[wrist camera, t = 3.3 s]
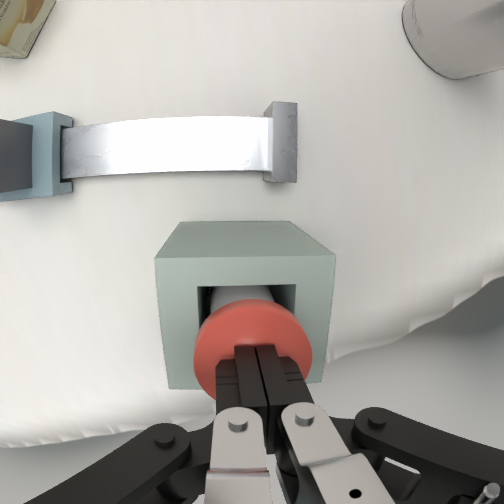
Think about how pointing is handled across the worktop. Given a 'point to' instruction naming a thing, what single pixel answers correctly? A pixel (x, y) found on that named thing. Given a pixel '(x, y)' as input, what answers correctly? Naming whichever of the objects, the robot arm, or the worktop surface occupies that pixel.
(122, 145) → the rail
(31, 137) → the carriage
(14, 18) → the skincare box
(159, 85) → the worktop surface
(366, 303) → the worktop surface
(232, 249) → the button housing
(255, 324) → the red button
